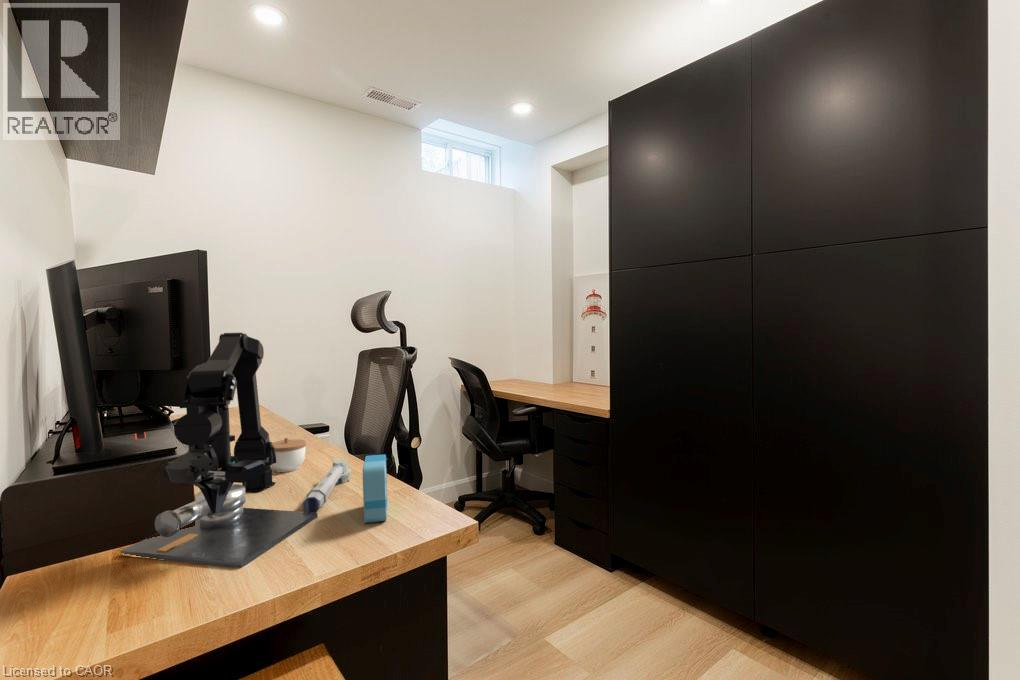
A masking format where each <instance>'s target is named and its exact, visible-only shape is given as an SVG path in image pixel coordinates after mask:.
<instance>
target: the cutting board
mask: <svg viewBox="0 0 1020 680" xmlns="http://www.w3.org/2000/svg"><path fill="white" fill-rule="evenodd" d="M317 518H318V512H306V511H296V510H295V511H294V510H280V509H268V508H267V509H266V508H253V507H250V508H249V507H244V504H243V505H241V506H240V507H237V508H235V509H232V510H228V511H224V512H219V513H211V514H208V515H206V516H204V517H202V518H200V519H198V520H196V524H195V526H193V527H189V528H185V529H181V530H179V531H178V532H177V533H176V534H174V535H172V536H170V537H163V536H161V535H160V536H157V537H152V538H149V537H148V538H149V539H147V538H145V539H142V540H141V541H139V542H136V543H135V544H132V545H130V546H127V547H126V548H124V549H121V550H120V551H119V552H120V554H121V553H124V554H130V555H136V556H141V557H149V558H156V559H164V560H163V561H166V560H170V561H169V562H176V561H178V563H187V564H198V565H206V566H207V565H209V566H219V567H228V568H229V567H230V568H237V569H239V568H240V569H242V568H244V567H245V566H246V565H248V564H249V563H251V562H252V561H255V559H257V558H258V557H260V556H261V555H263V554H265V553H266V552H267V551H269V550H270V549H272V548H274V547H275V546H277V545H278V544H279V543H281V542H283V541H285V539H286V540H287V538H289V537H290V536H291V535H293V534H294V533H296V532H298V531H299V530H301V529H302V528H303V527H305V526H307V525H308V524H310V523H312V522H313V521H314V520H317ZM156 559H155V560H156Z"/></svg>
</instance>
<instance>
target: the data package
mask: <svg viewBox="0 0 1020 680" xmlns="http://www.w3.org/2000/svg"><path fill="white" fill-rule="evenodd" d="M387 481H388V477H387V455H386V454H373V455H371V454H370V455H366V456H365V458H364V462H363V467H362V496H363V497H362V498H363V500H362V501H363V521H364V523H365V524H368V523H369V524H370V523H377V522H378V523H379V522H385V521H387V517H388V516H387V515H388V482H387Z"/></svg>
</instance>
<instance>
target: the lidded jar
mask: <svg viewBox="0 0 1020 680" xmlns="http://www.w3.org/2000/svg"><path fill="white" fill-rule="evenodd" d="M272 444H273V447H274V448H275V453H276V463H274V464H272V465H271V469H274V470H275V472H276V473H289V472H294V471H297V470H298V469H299V467H300V466H301V465H302V464H303V462H304V460H305V458H306V451H307V446H306V445H307V441H306V440H305V439H299V438H298V439H295V438H294V439H291V438H290V439H289V437H284V439H282V440H277V441H273V442H272ZM268 459H269V458H268Z"/></svg>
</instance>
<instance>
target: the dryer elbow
mask: <svg viewBox="0 0 1020 680" xmlns="http://www.w3.org/2000/svg"><path fill="white" fill-rule="evenodd" d="M246 498H247V497H246V491H245V486H244V485H242V484H240V483H235V484H234V483H233V485H232V487H231V488H230V490H229V492H228V494H227V497H226V499H225V501H224V503H223V505H222V508H221V510H220V512H224V511H228V510H232V509H235V508H237V507H240V506H241V505H243V506H244V505H245V503H246V502H247V501H246V500H247V499H246ZM211 513H212V512H211V510H210V508H209V506H208V503H207V501H206V499H205V497H204V495H203V493H202V492H201V490H200V491H199V492H198V493H196V494H195V500H194V501H192V502H190V503H187V504H185V505H183V506H180V507H178V508H176V509H174V510H165V511H163V512H161V513H159V514H158V515H157V516H156V517H155V519H154V528H155V531H156V532H157V534H158V533H159V534H160V535H161V536H163V537H170V536H172V535H174V534H176V533H177V532H178V531H179V530H180V528H182V527H184V526H186V525H188V524H190V523H192V522H194V521H196V520H198V519H200V518H202V517H204V516H206V515H208V514H211ZM218 513H219V512H218Z"/></svg>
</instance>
